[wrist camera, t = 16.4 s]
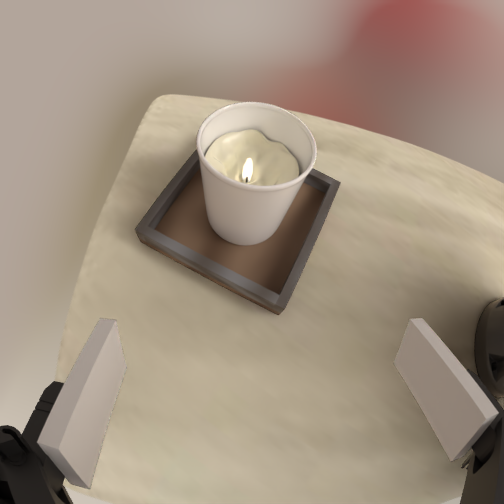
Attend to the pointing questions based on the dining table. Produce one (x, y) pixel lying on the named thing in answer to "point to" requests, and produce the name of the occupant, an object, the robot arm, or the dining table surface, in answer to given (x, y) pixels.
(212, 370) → the dining table surface
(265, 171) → the candle holder
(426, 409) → the robot arm
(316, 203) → the socket base
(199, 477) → the dining table surface
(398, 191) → the dining table surface
